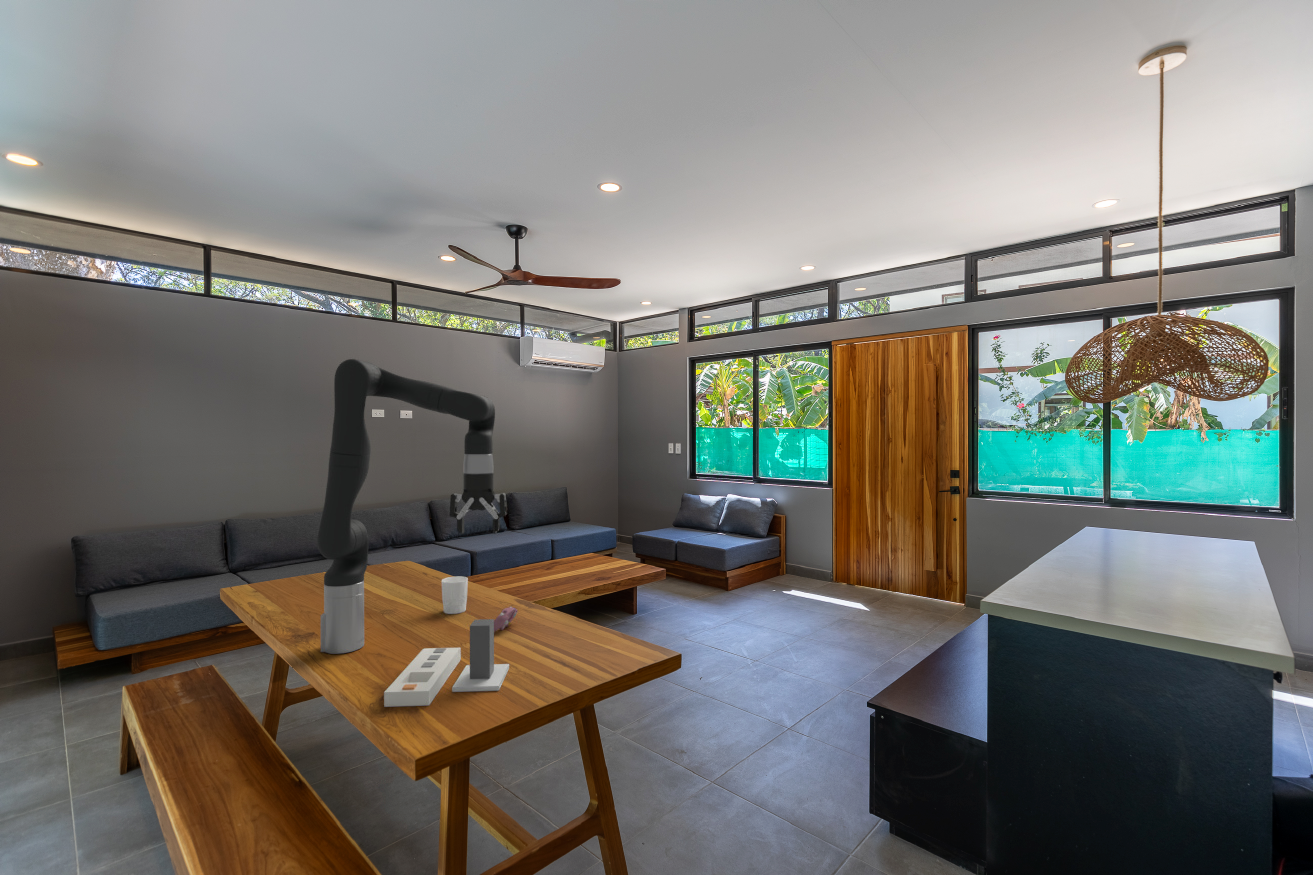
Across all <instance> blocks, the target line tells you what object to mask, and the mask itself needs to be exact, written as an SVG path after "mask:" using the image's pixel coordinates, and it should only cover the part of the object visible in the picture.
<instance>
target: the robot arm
mask: <svg viewBox="0 0 1313 875" xmlns="http://www.w3.org/2000/svg"><path fill="white" fill-rule="evenodd" d="M333 382H334V385H333V386H334V387H333V389H334V390H333V391H334V392H333V394H334V411H333V412H334V416H333V423H332V433H331V442H330V443H331V444H330V451H329V457H328V458H329V459H328V469H327V470H328V472H327V473H328V474H327V481H326V489H325V498H324V504H323V510H322V514H321V518H320V522H319V526H318V532H317V537H316V538H317V539H316V543H317V548H318V551H319V553H320V554H321V555H322V556H323V557H324V558H325V559H327V560H331V561H332V560H333V562H332V563H331V565H330V567H329V568H328V569H327V571H326V572H325V573H324V575H323V604H324V605H323V610H324V611H323V613H322V614H320V653H327V654H333V655H335V654H336V655H337V654H338V655H341V654H346V653H350V652H354V651H357V650H359V649H361V648H363V647H364V646H365V574H366V571H367V569H368V562H369V560H368V558H369V535H368V531H367V527H366V525H365V524H364V523H362V522H361V521H360V520H359V519H353V518H352V515H353V507H354V505H355V502H356V500H357V497H358V495H359V494H360V491H361V489H362V487H363V485H364V484H365V482H366V479H367V477H368V472H369V470H370V469H369V468H370V461H371V443H370V442H371V441H370V437H369V433H368V429H367V426H366V420H365V410H366V409H365V408H366V401H367V397H379V398H387V399H394V400H398V401H401V402H405V403H408V404H409V405H410V404H411V405H412V406H416V407H418V408H422V409H425V410H427V411H432V412H436V413H440V414H445V415H450V416H454V417H457V418H459V419H461V420H466V421H468V431H467V433H466V434H465V436H464V447H463V448H464V457H463V472H462V474H463V475H462V476H463V477H462V478H463V479H462V480H463V484H462V485H463V488H462V490H463V491H462V492H463V493H462V494H461V493H456V492H455V493H452V494H451V495H450V500H449V514H448V515H449V517H450V518H455V520H456V530H457V531H456V532H459V535H461V534H464V533H465V518H464V517H465V515H466V514H467V513H468V512H469V511H470V510H471V511H485V510H486V511H487V512H488V513H489V514H490V515H491V517H492V518H493V519H492V534H497V533H498V532H499V530H500V528H501V527H500V519H501V518H504V517H506V515H507V514H508V508H507V506H508V505H507V494H506V492H501V493H495V492H494V491H495V490H494V471H495V467H494V457H493V435H494V434H493V432H494V426H495V422H496V409H495V404H494V401H493V400H491V398H489V397H487V396H485V395H479V394H475V393H470V392H466V391H460V390H456V389H454V388H452V387H449V386H445V385H443V384H437V383H434V382H433V383H432V382H430V381H429V382H428V381H423V380H419V379H415V378H414V379H413V378H408V377H405V376H402V375H398V374H395V373H393V372H392V371H391V372H390V371H388V370H385V369H384V368H382V367H379V366H377V365H375V364H373V363H372V362H369V361H366V360H365V361H363V360H360V359H355V358H350V359H349V358H348V359H346V360H343V361H342V362H340V364H339V365H338V366H337V368H336V370H335V373H334V381H333ZM461 499H462V501H463V503H464V505H463V507H462V509H460V511H459V512H458V503H459V502H460V500H461ZM495 499H496V501H497V502H498V503H499V509H500V510H499V511H500V512H499V511H498V509H496V507H495V505H494V504H493V502H494V500H495Z"/></svg>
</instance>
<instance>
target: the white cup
mask: <svg viewBox="0 0 1313 875" xmlns="http://www.w3.org/2000/svg"><path fill="white" fill-rule="evenodd" d="M468 580H469V578H468V577H466V576H463V575H462V576H461V575H460V576H458V575H457V576H450V577H445V578H442V579H441V596H442V597H441V599H442V604H443V607H442V608H443V613H445V614H446V615H457V614H461V613H465V611H467V602H468V601H467V600H468V584H469V581H468Z"/></svg>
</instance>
